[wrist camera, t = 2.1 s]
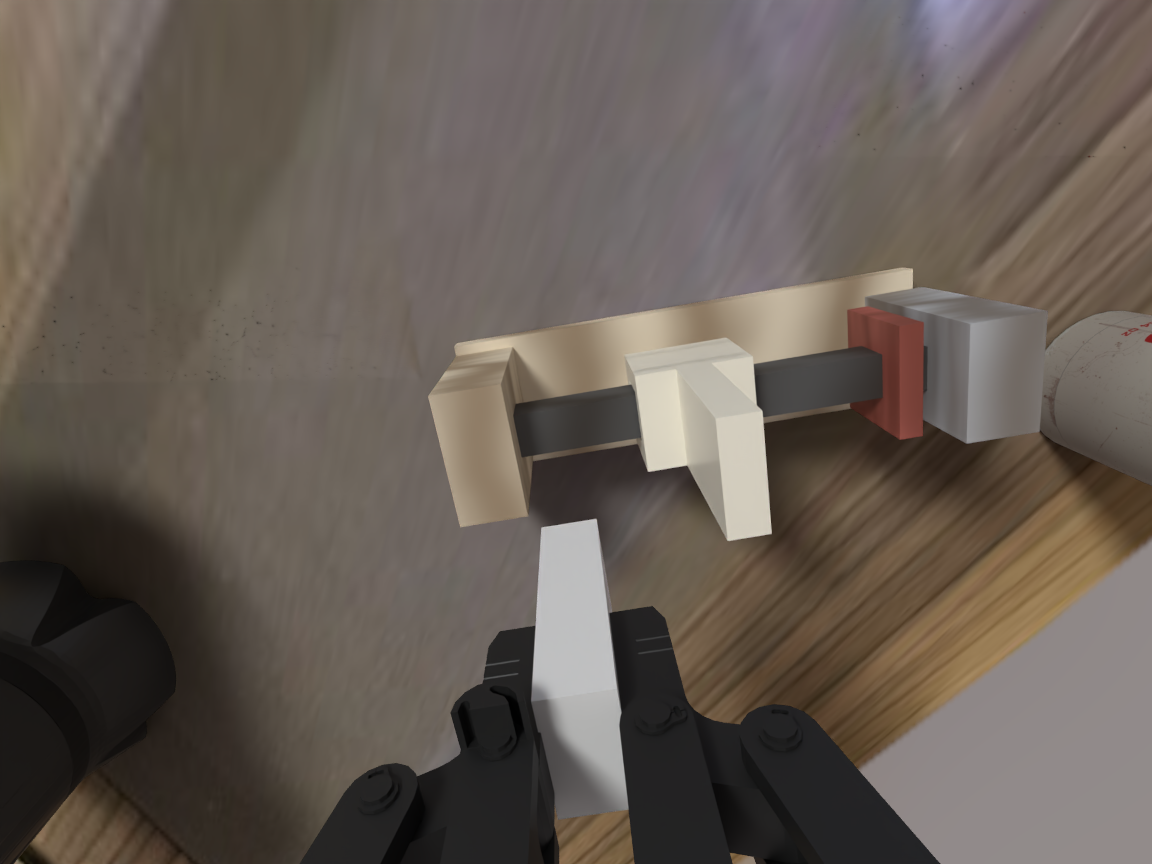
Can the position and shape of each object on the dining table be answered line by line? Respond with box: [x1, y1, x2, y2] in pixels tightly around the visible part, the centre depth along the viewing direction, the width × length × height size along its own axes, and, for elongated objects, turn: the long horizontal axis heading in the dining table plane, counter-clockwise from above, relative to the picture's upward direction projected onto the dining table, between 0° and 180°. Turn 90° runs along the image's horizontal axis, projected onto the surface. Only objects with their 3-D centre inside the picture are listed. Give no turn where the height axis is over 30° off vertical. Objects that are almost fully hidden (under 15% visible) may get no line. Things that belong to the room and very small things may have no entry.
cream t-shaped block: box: [624, 338, 772, 541], centre depth 27 cm, size 5×4×11 cm
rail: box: [428, 268, 1048, 527], centre depth 31 cm, size 24×7×10 cm, turn 99°
